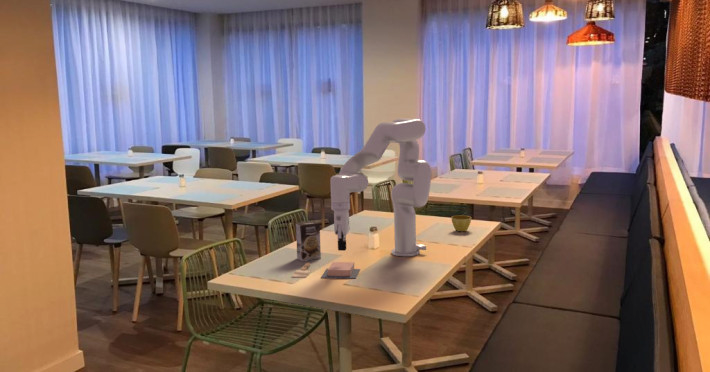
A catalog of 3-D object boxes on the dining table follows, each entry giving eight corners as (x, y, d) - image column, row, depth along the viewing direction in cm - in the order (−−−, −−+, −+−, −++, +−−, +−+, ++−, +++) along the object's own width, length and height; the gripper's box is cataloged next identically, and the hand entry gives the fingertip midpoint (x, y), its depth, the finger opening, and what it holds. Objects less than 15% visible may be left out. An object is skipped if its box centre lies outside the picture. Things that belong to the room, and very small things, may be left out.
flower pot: (474, 229, 309) (474, 216, 308) (466, 234, 301) (466, 220, 300) (456, 228, 315) (456, 214, 313) (448, 232, 306) (448, 218, 305)
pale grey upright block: (354, 262, 246) (350, 270, 236) (354, 268, 247) (350, 276, 236) (332, 262, 248) (327, 269, 237) (332, 268, 248) (327, 276, 237)
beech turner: (301, 265, 255) (301, 262, 255) (315, 265, 254) (315, 262, 254) (291, 277, 238) (291, 275, 238) (306, 277, 237) (306, 275, 237)
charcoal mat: (360, 269, 246) (360, 269, 246) (355, 278, 234) (355, 277, 234) (326, 269, 248) (326, 268, 248) (320, 278, 236) (320, 277, 236)
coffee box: (302, 261, 260) (300, 225, 258) (296, 258, 266) (295, 222, 263) (321, 258, 264) (320, 222, 262) (315, 255, 270) (314, 220, 267)
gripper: (346, 209, 234) (348, 255, 237) (352, 202, 248) (353, 245, 251) (328, 209, 235) (329, 254, 238) (334, 202, 249) (336, 245, 252)
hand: (342, 249), depth 244 cm, fingers closed
